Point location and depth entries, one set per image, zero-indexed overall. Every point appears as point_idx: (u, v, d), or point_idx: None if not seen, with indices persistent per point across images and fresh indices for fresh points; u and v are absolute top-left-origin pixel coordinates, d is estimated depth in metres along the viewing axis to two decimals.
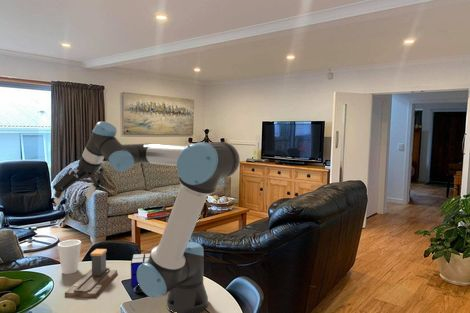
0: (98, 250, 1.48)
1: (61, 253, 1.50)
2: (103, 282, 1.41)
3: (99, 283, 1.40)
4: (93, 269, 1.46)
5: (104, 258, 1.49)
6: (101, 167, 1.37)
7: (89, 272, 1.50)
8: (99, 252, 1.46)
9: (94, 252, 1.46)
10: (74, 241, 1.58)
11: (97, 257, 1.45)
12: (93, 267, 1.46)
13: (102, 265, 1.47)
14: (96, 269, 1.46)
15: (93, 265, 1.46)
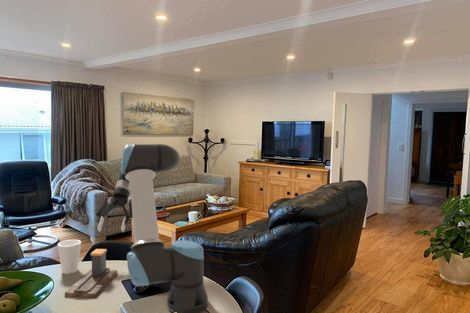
0: (98, 250, 1.48)
1: (61, 253, 1.50)
2: (103, 282, 1.41)
3: (99, 283, 1.40)
4: (93, 269, 1.46)
5: (104, 258, 1.49)
6: None
7: (89, 272, 1.50)
8: (99, 252, 1.46)
9: (94, 252, 1.46)
10: (74, 241, 1.58)
11: (97, 257, 1.45)
12: (93, 267, 1.46)
13: (102, 265, 1.47)
14: (96, 269, 1.46)
15: (93, 265, 1.46)
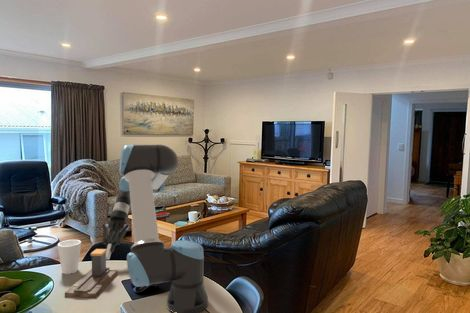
0: (98, 250, 1.48)
1: (61, 253, 1.50)
2: (103, 282, 1.41)
3: (99, 283, 1.40)
4: (93, 269, 1.46)
5: (104, 258, 1.49)
6: (128, 226, 1.67)
7: (89, 272, 1.50)
8: (99, 252, 1.46)
9: (94, 252, 1.46)
10: (74, 241, 1.58)
11: (97, 257, 1.45)
12: (93, 267, 1.46)
13: (102, 265, 1.47)
14: (96, 269, 1.46)
15: (93, 265, 1.46)
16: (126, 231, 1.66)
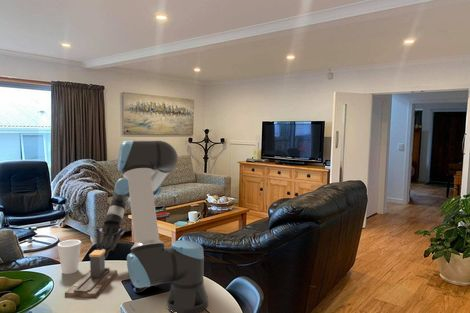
0: (96, 252, 1.47)
1: (61, 253, 1.50)
2: (103, 282, 1.41)
3: (99, 283, 1.40)
4: (92, 270, 1.44)
5: (103, 259, 1.48)
6: None
7: (89, 272, 1.50)
8: (98, 253, 1.45)
9: (93, 253, 1.45)
10: (74, 241, 1.58)
11: (96, 258, 1.44)
12: (92, 268, 1.44)
13: (100, 266, 1.45)
14: (94, 271, 1.44)
15: (91, 266, 1.44)
16: None
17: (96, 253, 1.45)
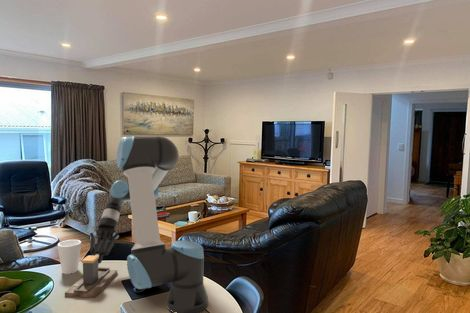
0: (90, 257, 1.40)
1: (61, 253, 1.50)
2: (103, 282, 1.41)
3: (99, 283, 1.40)
4: (84, 277, 1.38)
5: (96, 265, 1.41)
6: None
7: None
8: (91, 259, 1.38)
9: (85, 259, 1.38)
10: (74, 241, 1.58)
11: (89, 264, 1.37)
12: (85, 275, 1.38)
13: (94, 272, 1.39)
14: (87, 277, 1.38)
15: (84, 273, 1.38)
16: (115, 240, 1.54)
17: (89, 259, 1.39)
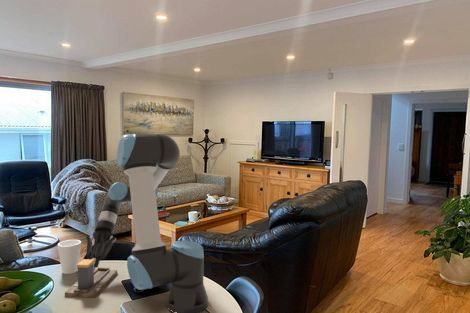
0: (85, 261, 1.36)
1: (61, 253, 1.50)
2: (103, 282, 1.41)
3: (99, 283, 1.40)
4: (79, 282, 1.34)
5: (91, 269, 1.37)
6: (115, 238, 1.50)
7: None
8: (86, 263, 1.34)
9: (80, 263, 1.34)
10: (74, 241, 1.58)
11: (83, 269, 1.33)
12: (80, 279, 1.34)
13: (89, 277, 1.35)
14: (82, 282, 1.34)
15: (79, 278, 1.34)
16: (113, 243, 1.50)
17: (84, 263, 1.34)
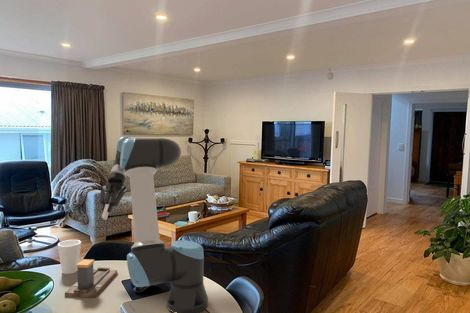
0: (84, 261, 1.36)
1: (61, 253, 1.50)
2: (103, 282, 1.41)
3: (99, 283, 1.40)
4: (79, 282, 1.34)
5: (91, 269, 1.37)
6: (126, 188, 1.63)
7: None
8: (86, 263, 1.34)
9: (80, 263, 1.34)
10: (74, 241, 1.58)
11: (83, 269, 1.33)
12: (79, 279, 1.33)
13: (89, 277, 1.34)
14: (82, 282, 1.34)
15: (79, 278, 1.33)
16: None
17: (84, 263, 1.34)
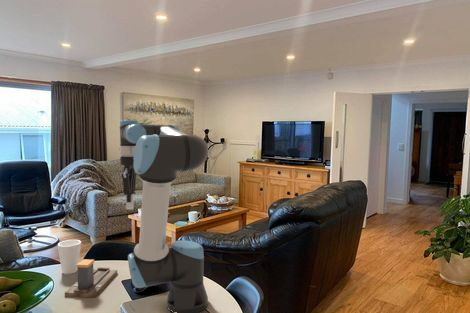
0: (84, 261, 1.36)
1: (61, 253, 1.50)
2: (103, 282, 1.41)
3: (99, 283, 1.40)
4: (79, 282, 1.34)
5: (91, 269, 1.37)
6: None
7: None
8: (86, 263, 1.34)
9: (80, 263, 1.34)
10: (74, 241, 1.58)
11: (83, 269, 1.33)
12: (79, 279, 1.33)
13: (89, 277, 1.34)
14: (82, 282, 1.34)
15: (79, 278, 1.33)
16: None
17: (84, 263, 1.34)
